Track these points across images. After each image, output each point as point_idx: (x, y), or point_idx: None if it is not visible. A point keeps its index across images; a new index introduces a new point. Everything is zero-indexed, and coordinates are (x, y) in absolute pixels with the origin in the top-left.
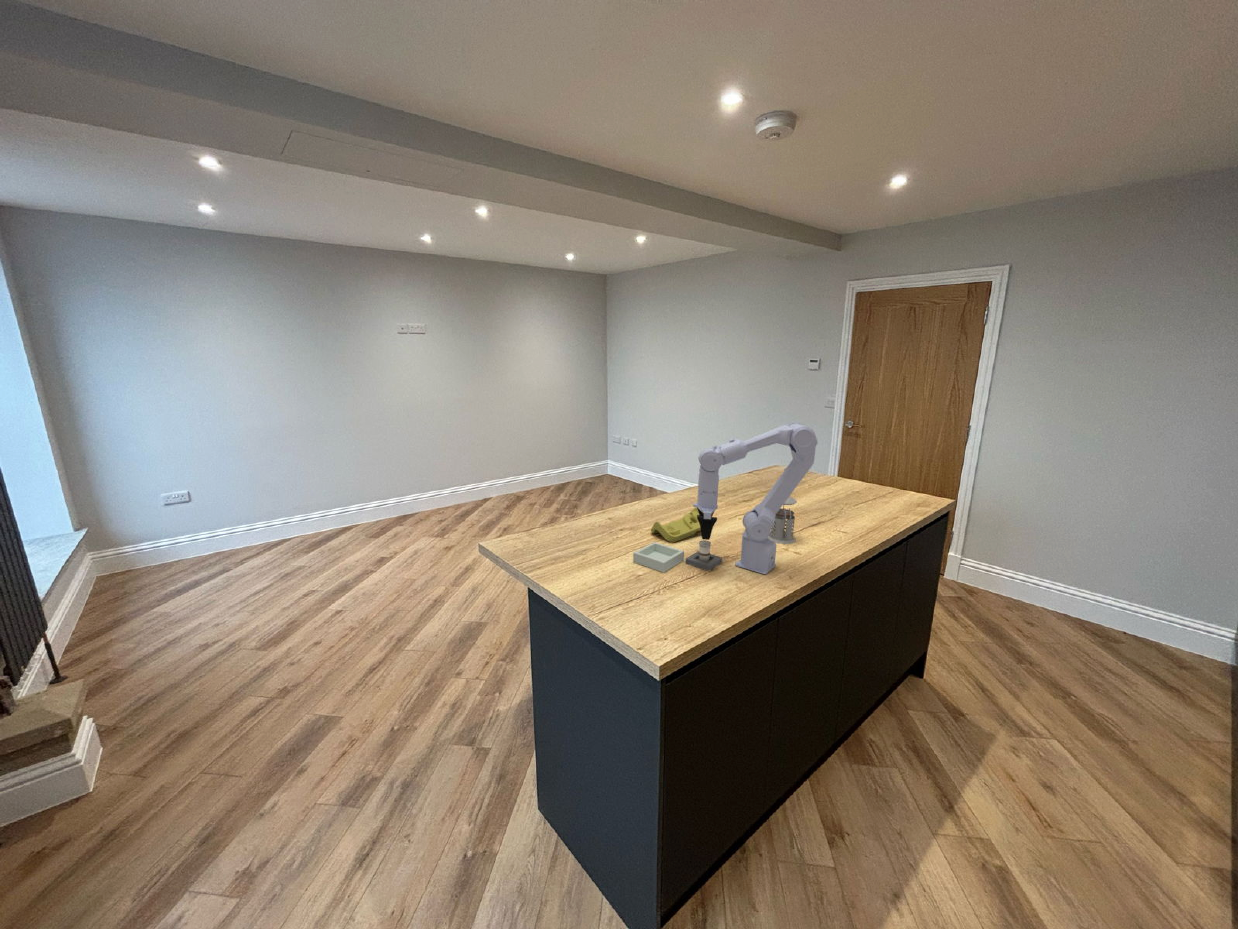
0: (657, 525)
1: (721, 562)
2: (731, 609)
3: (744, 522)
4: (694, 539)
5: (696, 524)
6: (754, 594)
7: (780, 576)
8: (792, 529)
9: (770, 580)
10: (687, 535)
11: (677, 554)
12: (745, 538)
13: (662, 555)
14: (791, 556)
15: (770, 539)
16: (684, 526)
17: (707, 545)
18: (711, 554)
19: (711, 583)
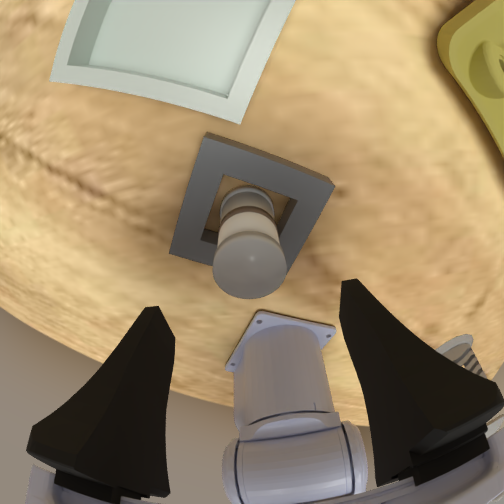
0: None
1: None
2: (26, 307)
3: (323, 457)
4: (474, 152)
5: None
6: (109, 346)
7: (233, 383)
8: None
9: (200, 372)
10: (487, 127)
11: (172, 99)
12: (260, 421)
13: (242, 8)
14: (354, 386)
15: (443, 348)
16: None
17: (220, 285)
18: (300, 244)
19: (91, 259)
